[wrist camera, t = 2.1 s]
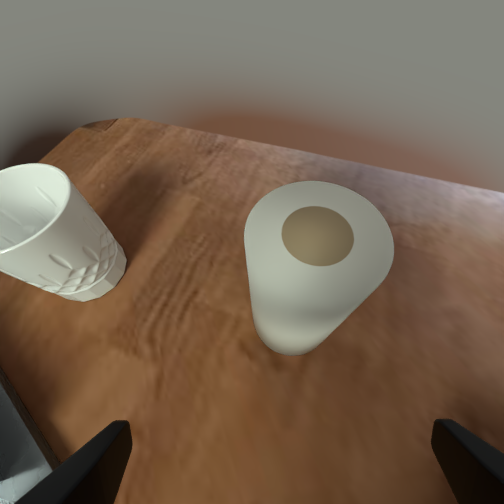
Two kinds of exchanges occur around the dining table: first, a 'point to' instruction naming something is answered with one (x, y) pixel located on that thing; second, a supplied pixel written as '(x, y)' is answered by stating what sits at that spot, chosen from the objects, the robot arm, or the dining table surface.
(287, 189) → the white paper towel roll
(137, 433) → the dining table surface
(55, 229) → the white cup
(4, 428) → the square open box
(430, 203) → the dining table surface
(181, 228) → the dining table surface
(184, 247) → the dining table surface
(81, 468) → the robot arm
